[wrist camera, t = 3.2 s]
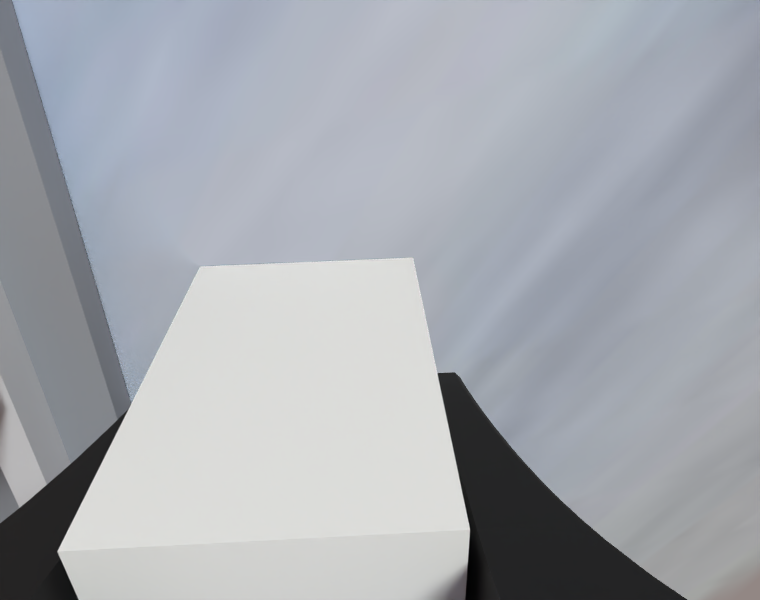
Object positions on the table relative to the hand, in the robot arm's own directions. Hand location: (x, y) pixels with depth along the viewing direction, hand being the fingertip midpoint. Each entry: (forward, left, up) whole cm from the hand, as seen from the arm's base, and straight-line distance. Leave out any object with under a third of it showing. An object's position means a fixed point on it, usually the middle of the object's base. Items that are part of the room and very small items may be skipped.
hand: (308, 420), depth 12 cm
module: (0, 0, -2) cm, 2 cm away
